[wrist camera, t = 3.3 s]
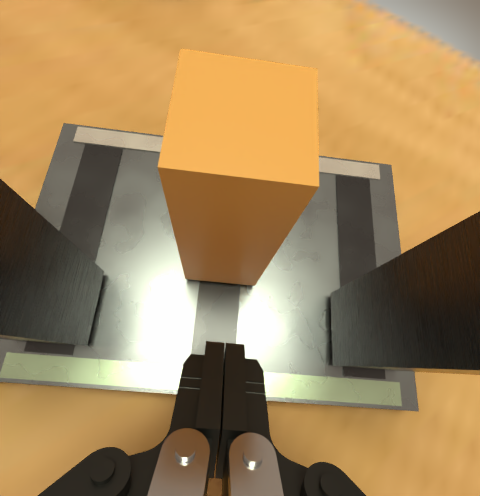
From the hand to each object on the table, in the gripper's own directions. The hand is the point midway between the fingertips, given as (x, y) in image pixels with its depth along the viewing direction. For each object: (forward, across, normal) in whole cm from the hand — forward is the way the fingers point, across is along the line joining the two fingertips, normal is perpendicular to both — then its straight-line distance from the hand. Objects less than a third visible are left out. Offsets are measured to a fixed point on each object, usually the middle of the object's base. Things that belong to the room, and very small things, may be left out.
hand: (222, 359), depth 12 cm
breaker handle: (+8, 0, -1) cm, 8 cm away
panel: (+9, 0, 0) cm, 9 cm away
